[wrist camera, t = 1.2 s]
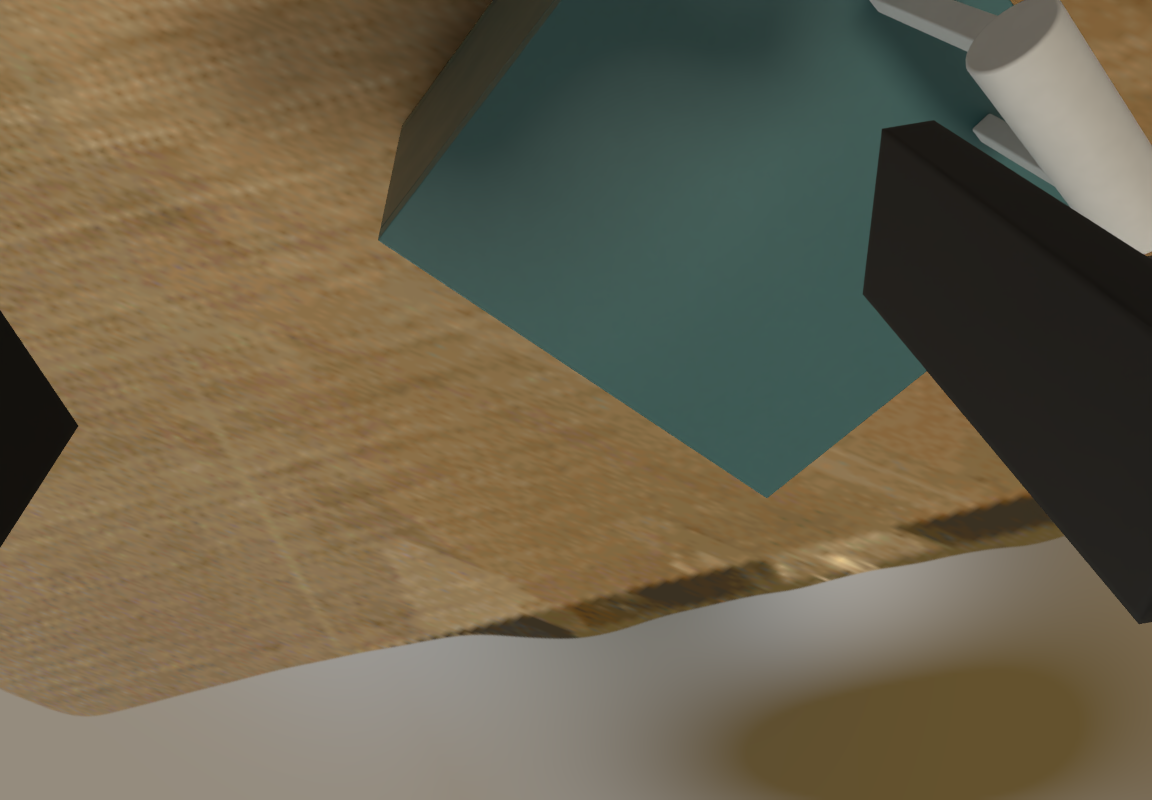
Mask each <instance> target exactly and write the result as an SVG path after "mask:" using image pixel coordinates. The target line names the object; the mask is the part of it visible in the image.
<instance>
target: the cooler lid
mask: <svg viewBox="0 0 1152 800" xmlns="http://www.w3.org/2000/svg"><path fill="white" fill-rule="evenodd" d="M932 120H934V121H936V122H937V123H939V124H941V125H942V126H944V127H945V128H947V129H948V130H950V131H952V132H953V133H955V134H956V135H958V136H959V137H961V138H962V139H964V140H966V141H967V142H969V143H970V144H972V145H973V146H975V147H977V148H978V149H980V150H981V151H983V152H984V153H986V154H987V155H989V156H991V157H992V158H994V159H995V160H997V161H998V162H1000V163H1002V164H1003V165H1005V166H1006V167H1008V168H1009V169H1011V170H1012V171H1014V172H1016V173H1017V174H1019V175H1020V176H1022V177H1023V178H1025V179H1027V180H1028V181H1030V182H1031V183H1033V184H1034V185H1036V186H1037V187H1039V188H1041V189H1042V190H1044V191H1045V192H1047V193H1048V194H1050V195H1052V196H1053V197H1055V198H1056V199H1058V200H1059V201H1061V202H1062V203H1064V204H1066V205H1067V206H1069V207H1070V208H1072V209H1073V210H1075V211H1077V212H1078V213H1080V214H1081V215H1083V216H1084V217H1086V218H1087V219H1089V220H1091V221H1092V222H1094V223H1095V224H1097V225H1098V226H1100V227H1102V228H1103V229H1105V230H1106V231H1108V232H1109V233H1111V234H1112V235H1114V236H1116V237H1117V238H1119V239H1120V240H1122V241H1123V242H1125V243H1127V244H1128V245H1130V246H1131V247H1133V248H1134V249H1136V250H1137V251H1139V252H1141V253H1142V254H1146V253H1149V252H1152V145H1151V144H1150V142H1149V140H1148V139H1147V137H1146V136H1145V134H1144V133H1143V131H1142V129H1141V128H1140V126H1139V125H1138V123H1137V121H1136V120H1135V118H1134V117H1133V115H1132V114H1131V112H1130V110H1129V109H1128V107H1127V106H1126V104H1125V102H1124V101H1123V99H1122V98H1121V96H1120V94H1119V93H1118V91H1117V90H1116V88H1115V87H1114V85H1113V83H1112V82H1111V80H1110V79H1109V77H1108V75H1107V74H1106V72H1105V71H1104V69H1103V68H1102V66H1101V64H1100V63H1099V61H1098V60H1097V58H1096V56H1095V55H1094V53H1093V52H1092V50H1091V49H1090V47H1089V45H1088V44H1087V42H1086V41H1085V39H1084V37H1083V36H1082V34H1081V33H1080V31H1079V29H1078V28H1077V26H1076V25H1075V23H1074V22H1073V20H1072V18H1071V17H1070V15H1069V14H1068V12H1067V10H1066V9H1065V7H1064V6H1063V4H1062V3H1061V1H1060V0H1024V1H1022V2H1020V3H1018V4H1016V5H1013V4H1012V2H1011V1H1010V0H555V1H554V2H553V3H552V5H551V6H550V7H549V8H548V10H547V11H546V12H545V14H544V15H543V16H542V18H541V19H540V20H539V22H538V23H537V24H536V26H535V27H534V28H533V30H532V31H531V32H530V33H529V35H528V36H527V37H526V39H525V40H524V41H523V43H522V44H521V45H520V47H519V48H518V49H517V51H516V52H515V53H514V55H513V56H512V57H511V58H510V60H509V61H508V62H507V64H506V65H505V66H504V68H503V69H502V70H501V72H500V73H499V74H498V76H497V77H496V78H495V79H494V81H493V82H492V83H491V85H490V86H489V87H488V89H487V90H486V91H485V93H484V94H483V95H482V97H481V98H480V99H479V101H478V102H477V103H476V104H475V106H474V107H473V108H472V110H471V111H470V112H469V114H468V115H467V116H466V118H465V119H464V120H463V122H462V123H461V124H460V126H459V127H458V128H457V129H456V131H455V132H454V133H453V135H452V136H451V137H450V139H449V140H448V141H447V143H446V144H445V145H444V147H443V148H442V149H441V150H440V152H439V153H438V154H437V156H436V157H435V158H434V160H433V161H432V162H431V164H430V165H429V166H428V168H427V169H426V170H425V172H424V173H423V174H422V175H421V177H420V178H419V179H418V181H417V182H416V183H415V185H414V186H413V187H412V189H411V190H410V191H409V193H408V194H407V195H406V197H405V198H404V199H403V200H402V202H401V203H400V204H399V206H398V207H397V208H396V210H395V211H394V212H393V214H392V215H391V216H390V218H389V219H388V220H387V221H386V223H385V224H384V225H383V227H382V228H381V229H380V234H379V238H378V240H379V241H380V242H382V243H383V244H385V245H386V246H388V247H389V248H391V249H392V250H394V251H395V252H397V253H398V254H400V255H401V256H403V257H404V258H406V259H407V260H409V261H410V262H412V263H413V264H415V265H416V266H418V267H419V268H421V269H422V270H424V271H425V272H427V273H428V274H430V275H431V276H433V277H434V278H436V279H437V280H439V281H440V282H442V283H443V284H445V285H446V286H448V287H449V288H451V289H452V290H454V291H455V292H457V293H458V294H460V295H461V296H463V297H464V298H466V299H467V300H469V301H470V302H472V303H473V304H475V305H476V306H478V307H480V308H481V309H483V310H484V311H486V312H487V313H489V314H490V315H492V316H493V317H495V318H496V319H498V320H499V321H501V322H502V323H504V324H505V325H507V326H508V327H510V328H511V329H513V330H514V331H516V332H517V333H519V334H520V335H522V336H523V337H525V338H526V339H528V340H529V341H531V342H532V343H534V344H535V345H537V346H538V347H540V348H541V349H543V350H544V351H546V352H547V353H549V354H550V355H552V356H553V357H555V358H556V359H558V360H559V361H561V362H562V363H564V364H565V365H567V366H568V367H570V368H571V369H573V370H574V371H576V372H577V373H579V374H580V375H582V376H583V377H585V378H586V379H588V380H590V381H591V382H593V383H594V384H596V385H597V386H599V387H600V388H602V389H603V390H605V391H606V392H608V393H609V394H611V395H612V396H614V397H615V398H617V399H618V400H620V401H621V402H623V403H624V404H626V405H627V406H629V407H630V408H632V409H633V410H635V411H636V412H638V413H639V414H641V415H642V416H644V417H645V418H647V419H648V420H650V421H651V422H653V423H654V424H656V425H657V426H659V427H660V428H662V429H663V430H665V431H666V432H668V433H669V434H671V435H672V436H674V437H675V438H677V439H678V440H680V441H681V442H683V443H684V444H686V445H687V446H689V447H690V448H692V449H693V450H695V451H696V452H698V453H700V454H701V455H703V456H704V457H706V458H707V459H709V460H710V461H712V462H713V463H715V464H716V465H718V466H719V467H721V468H722V469H724V470H725V471H727V472H728V473H730V474H731V475H733V476H734V477H736V478H737V479H739V480H740V481H742V482H743V483H745V484H746V485H748V486H749V487H751V488H752V489H754V490H755V491H757V492H758V493H760V494H761V495H763V496H764V497H766V498H768V497H769V496H770V495H772V494H773V493H774V492H775V491H777V490H778V489H779V488H780V487H782V486H783V485H784V484H785V483H787V482H788V481H789V480H790V479H792V478H793V477H794V476H795V475H797V474H798V473H799V472H800V471H802V470H803V469H804V468H805V467H807V466H808V465H809V464H810V463H812V462H813V461H814V460H816V459H817V458H818V457H819V456H821V455H822V454H823V453H824V452H826V451H827V450H828V449H829V448H831V447H832V446H833V445H834V444H836V443H837V442H838V441H839V440H841V439H842V438H843V437H844V436H846V435H847V434H848V433H849V432H851V431H852V430H853V429H855V428H856V427H857V426H858V425H860V424H861V423H862V422H863V421H865V420H866V419H867V418H868V417H870V416H871V415H872V414H873V413H875V412H876V411H877V410H878V409H880V408H881V407H882V406H883V405H885V404H886V403H887V402H888V401H890V400H891V399H892V398H894V397H895V396H896V395H897V394H899V393H900V392H901V391H902V390H904V389H905V388H906V387H907V386H909V385H910V384H911V383H912V382H914V381H915V380H916V379H917V378H919V377H920V376H921V375H922V374H924V373H925V372H926V371H927V370H926V369H925V368H924V367H923V366H922V364H921V363H920V362H919V361H918V360H917V358H916V357H915V356H914V355H913V354H912V352H911V351H910V350H909V349H908V348H907V347H906V345H905V344H904V343H903V342H902V341H901V339H900V338H899V337H898V336H897V335H896V333H895V332H894V331H893V330H892V329H891V327H890V326H889V325H888V324H887V323H886V321H885V320H884V319H883V318H882V317H881V315H880V314H879V313H878V312H877V311H876V309H875V308H874V307H873V306H872V305H871V304H870V302H869V301H868V300H867V299H866V298H865V296H864V295H863V286H864V277H865V269H866V260H867V252H868V243H869V235H870V226H871V218H872V209H873V201H874V192H875V184H876V175H877V167H878V158H879V150H880V141H881V133H882V129H883V128H889V127H895V126H901V125H907V124H913V123H919V122H926V121H932Z"/></svg>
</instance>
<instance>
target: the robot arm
mask: <svg viewBox="0 0 1152 800" xmlns="http://www.w3.org/2000/svg"><path fill="white" fill-rule="evenodd" d="M863 295H864V296H865V298H866V299H867V300H868V301H869V302H870V304H871V305H872V306H873V307H874V308H875V309H876V311H877V312H878V313H879V314H880V315H881V317H882V318H883V319H884V320H885V321H886V323H887V324H888V325H889V326H890V327H891V329H892V330H893V331H894V332H895V333H896V335H897V336H898V337H899V338H900V339H901V341H902V342H903V343H904V344H905V345H906V347H907V348H908V349H909V350H910V351H911V352H912V354H913V355H914V356H915V357H916V358H917V360H918V361H919V362H920V363H921V364H922V366H923V367H924V368H925V369H926V370H927V372H928V373H929V374H930V375H931V376H932V378H933V379H934V380H935V381H936V382H937V384H938V385H939V386H940V387H941V388H942V390H943V391H944V392H945V393H946V394H947V395H948V397H949V398H950V399H951V400H952V401H953V403H954V404H955V405H956V406H957V407H958V409H959V410H960V411H961V412H962V413H963V415H964V416H965V417H966V418H967V419H968V421H969V422H970V423H971V424H972V425H973V427H974V428H975V429H976V430H977V431H978V433H979V434H980V435H981V436H982V437H983V438H984V440H985V441H986V442H987V443H988V444H989V446H990V447H991V448H992V449H993V450H994V452H995V453H996V454H997V455H998V456H999V458H1000V459H1001V460H1002V461H1003V462H1004V464H1005V465H1006V466H1007V467H1008V468H1009V470H1010V471H1011V472H1012V473H1013V474H1014V476H1015V477H1016V478H1017V479H1018V480H1019V481H1020V483H1021V484H1022V485H1023V486H1024V487H1025V489H1026V490H1027V491H1028V492H1029V493H1030V495H1031V496H1032V497H1033V498H1034V499H1035V501H1036V502H1037V503H1038V504H1039V505H1040V507H1041V508H1042V509H1043V510H1044V511H1045V513H1046V514H1047V515H1048V516H1049V517H1050V519H1051V520H1052V521H1053V522H1054V523H1055V524H1056V526H1057V527H1058V528H1059V529H1060V530H1061V532H1062V533H1063V534H1064V535H1065V536H1066V538H1067V539H1068V540H1069V541H1070V542H1071V544H1072V545H1073V546H1074V547H1075V548H1076V550H1077V551H1078V552H1079V553H1080V554H1081V556H1082V557H1083V558H1084V559H1085V560H1086V562H1087V563H1088V564H1089V565H1090V566H1091V567H1092V569H1093V570H1094V571H1095V572H1096V573H1097V575H1098V576H1099V577H1100V578H1101V579H1102V581H1103V582H1104V583H1105V584H1106V585H1107V587H1108V588H1109V589H1110V590H1111V591H1112V593H1113V594H1114V595H1115V596H1116V597H1117V599H1118V600H1119V601H1120V602H1121V603H1122V605H1123V606H1124V607H1125V608H1126V609H1127V610H1128V612H1129V613H1130V614H1131V615H1132V616H1133V618H1134V619H1135V620H1136V621H1137V622H1138V624H1142V623H1148V622H1152V256H1145V255H1144V254H1142V253H1141V252H1139V251H1137V250H1136V249H1134V248H1133V247H1131V246H1130V245H1128V244H1127V243H1125V242H1123V241H1122V240H1120V239H1119V238H1117V237H1116V236H1114V235H1112V234H1111V233H1109V232H1108V231H1106V230H1105V229H1103V228H1102V227H1100V226H1098V225H1097V224H1095V223H1094V222H1092V221H1091V220H1089V219H1087V218H1086V217H1084V216H1083V215H1081V214H1080V213H1078V212H1077V211H1075V210H1073V209H1072V208H1070V207H1069V206H1067V205H1066V204H1064V203H1062V202H1061V201H1059V200H1058V199H1056V198H1055V197H1053V196H1052V195H1050V194H1048V193H1047V192H1045V191H1044V190H1042V189H1041V188H1039V187H1037V186H1036V185H1034V184H1033V183H1031V182H1030V181H1028V180H1027V179H1025V178H1023V177H1022V176H1020V175H1019V174H1017V173H1016V172H1014V171H1012V170H1011V169H1009V168H1008V167H1006V166H1005V165H1003V164H1002V163H1000V162H998V161H997V160H995V159H994V158H992V157H991V156H989V155H987V154H986V153H984V152H983V151H981V150H980V149H978V148H977V147H975V146H973V145H972V144H970V143H969V142H967V141H966V140H964V139H962V138H961V137H959V136H958V135H956V134H955V133H953V132H952V131H950V130H948V129H947V128H945V127H944V126H942V125H941V124H939V123H937V122H936V121H934V120H932V121H926V122H919V123H913V124H907V125H901V126H895V127H889V128H883V129H882V133H881V141H880V150H879V158H878V167H877V175H876V184H875V192H874V201H873V209H872V218H871V226H870V235H869V243H868V252H867V260H866V269H865V277H864V286H863ZM77 427H78V425H77V423H76V422H75V420H74V419H73V417H72V416H71V414H70V413H69V411H68V410H67V408H66V407H65V405H64V404H63V402H62V401H61V400H60V398H59V397H58V395H57V394H56V392H55V391H54V389H53V388H52V386H51V385H50V383H49V382H48V380H47V379H46V377H45V376H44V374H43V373H42V371H41V370H40V368H39V367H38V366H37V364H36V363H35V361H34V360H33V358H32V357H31V355H30V354H29V352H28V351H27V349H26V348H25V346H24V345H23V343H22V342H21V340H20V339H19V337H18V336H17V334H16V333H15V332H14V330H13V329H12V327H11V326H10V324H9V323H8V321H7V320H6V318H5V317H4V315H3V314H2V312H1V311H0V547H1V546H2V544H3V542H4V541H5V539H6V538H7V536H8V535H9V533H10V532H11V530H12V528H13V527H14V525H15V524H16V522H17V521H18V519H19V518H20V516H21V514H22V513H23V511H24V510H25V508H26V507H27V505H28V504H29V502H30V500H31V499H32V497H33V496H34V494H35V493H36V491H37V490H38V488H39V486H40V485H41V483H42V482H43V480H44V479H45V477H46V476H47V474H48V472H49V471H50V469H51V468H52V466H53V465H54V463H55V461H56V460H57V458H58V457H59V455H60V454H61V452H62V451H63V449H64V447H65V446H66V444H67V443H68V441H69V440H70V438H71V437H72V435H73V433H74V432H75V430H76V429H77Z"/></svg>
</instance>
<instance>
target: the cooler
mask: <svg viewBox="0 0 1152 800" xmlns="http://www.w3.org/2000/svg"><path fill="white" fill-rule="evenodd" d="M554 1H555V0H493V1H492V2H491V4H490V5H489V6H488V8H487V9H486V10H485V12H484V13H483V15H482V16H481V17H480V19H479V20H478V21H477V23H476V24H475V26H474V27H473V28H472V30H471V31H470V33H469V34H468V35H467V37H466V38H465V39H464V41H463V42H462V44H461V45H460V46H459V48H458V49H457V50H456V52H455V53H454V55H453V56H452V57H451V59H450V60H449V62H448V63H447V64H446V66H445V67H444V68H443V70H442V71H441V73H440V74H439V75H438V77H437V78H436V79H435V81H434V82H433V84H432V85H431V86H430V88H429V89H428V91H427V92H426V93H425V95H424V96H423V97H422V99H421V100H420V102H419V103H418V104H417V106H416V107H415V109H414V110H413V111H412V113H411V114H410V115H409V117H408V118H407V120H406V121H405V122H404V124H403V125H402V128H401V132H400V137H399V142H398V147H397V152H396V156H395V161H394V166H393V171H392V176H391V181H390V185H389V190H388V195H387V200H386V205H385V209H384V214H383V219H382V224H381V228H382V227H383V225H384V224H385V223H386V221H387V220H388V219H389V218H390V216H391V215H392V214H393V212H394V211H395V210H396V208H397V207H398V206H399V204H400V203H401V202H402V200H403V199H404V198H405V197H406V195H407V194H408V193H409V191H410V190H411V189H412V187H413V186H414V185H415V183H416V182H417V181H418V179H419V178H420V177H421V175H422V174H423V173H424V172H425V170H426V169H427V168H428V166H429V165H430V164H431V162H432V161H433V160H434V158H435V157H436V156H437V154H438V153H439V152H440V150H441V149H442V148H443V147H444V145H445V144H446V143H447V141H448V140H449V139H450V137H451V136H452V135H453V133H454V132H455V131H456V129H457V128H458V127H459V126H460V124H461V123H462V122H463V120H464V119H465V118H466V116H467V115H468V114H469V112H470V111H471V110H472V108H473V107H474V106H475V104H476V103H477V102H478V101H479V99H480V98H481V97H482V95H483V94H484V93H485V91H486V90H487V89H488V87H489V86H490V85H491V83H492V82H493V81H494V79H495V78H496V77H497V76H498V74H499V73H500V72H501V70H502V69H503V68H504V66H505V65H506V64H507V62H508V61H509V60H510V58H511V57H512V56H513V55H514V53H515V52H516V51H517V49H518V48H519V47H520V45H521V44H522V43H523V41H524V40H525V39H526V37H527V36H528V35H529V33H530V32H531V31H532V30H533V28H534V27H535V26H536V24H537V23H538V22H539V20H540V19H541V18H542V16H543V15H544V14H545V12H546V11H547V10H548V8H549V7H550V6H551V5H552V3H553V2H554Z"/></svg>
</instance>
